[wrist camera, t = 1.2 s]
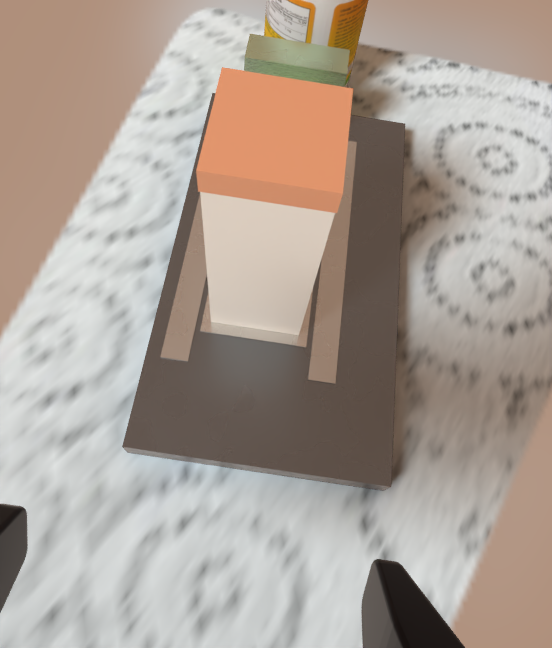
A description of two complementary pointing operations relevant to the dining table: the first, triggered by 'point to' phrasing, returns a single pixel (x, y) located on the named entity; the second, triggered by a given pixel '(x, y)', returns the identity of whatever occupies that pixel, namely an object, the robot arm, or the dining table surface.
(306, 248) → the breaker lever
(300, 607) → the dining table surface
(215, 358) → the plate
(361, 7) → the supplement bottle
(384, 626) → the robot arm
